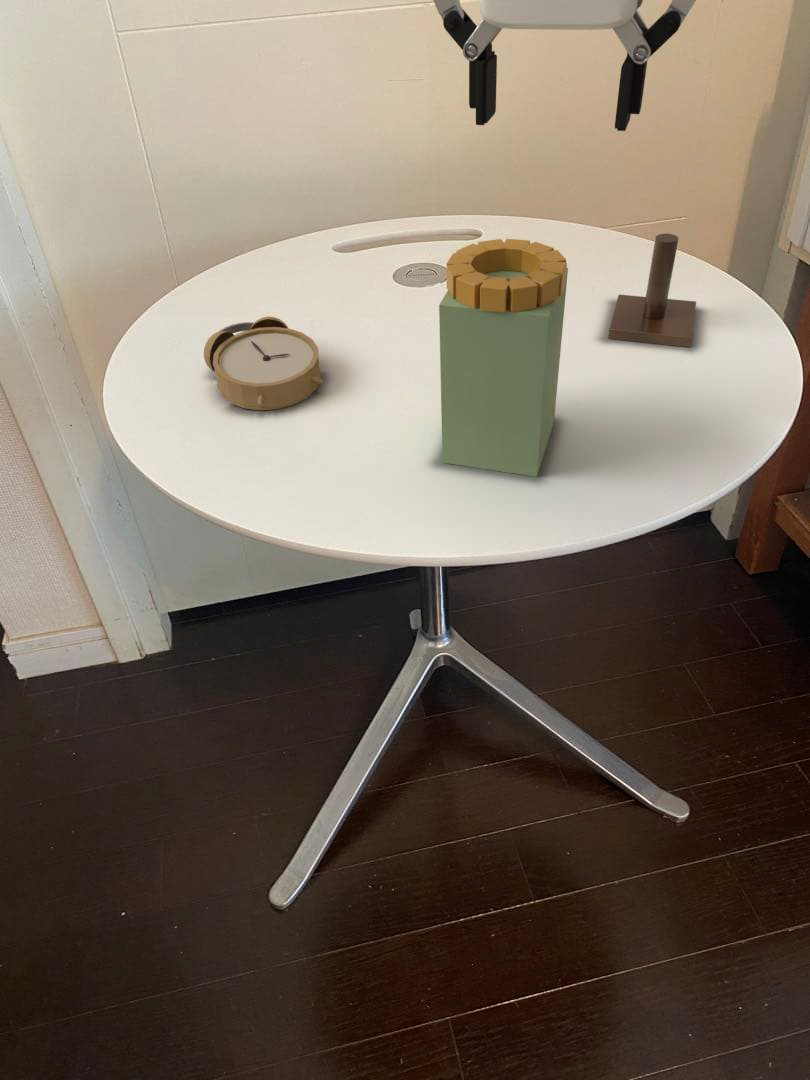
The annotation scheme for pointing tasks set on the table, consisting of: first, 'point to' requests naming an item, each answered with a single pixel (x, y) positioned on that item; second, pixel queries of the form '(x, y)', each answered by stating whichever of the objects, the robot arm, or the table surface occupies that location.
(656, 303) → the peg stand
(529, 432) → the sage green upright pillar
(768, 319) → the table surface
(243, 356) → the alarm clock
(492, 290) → the brass ring
